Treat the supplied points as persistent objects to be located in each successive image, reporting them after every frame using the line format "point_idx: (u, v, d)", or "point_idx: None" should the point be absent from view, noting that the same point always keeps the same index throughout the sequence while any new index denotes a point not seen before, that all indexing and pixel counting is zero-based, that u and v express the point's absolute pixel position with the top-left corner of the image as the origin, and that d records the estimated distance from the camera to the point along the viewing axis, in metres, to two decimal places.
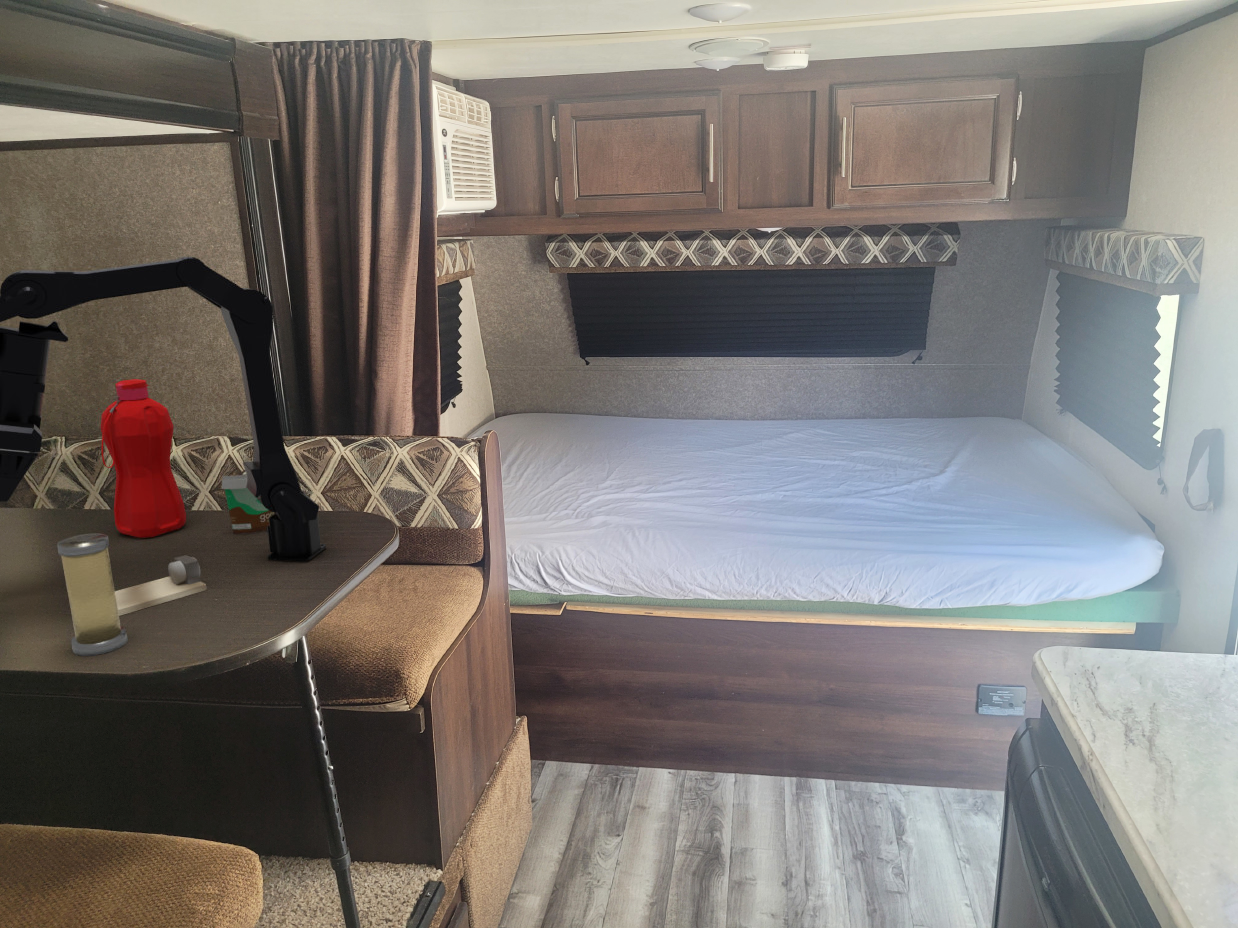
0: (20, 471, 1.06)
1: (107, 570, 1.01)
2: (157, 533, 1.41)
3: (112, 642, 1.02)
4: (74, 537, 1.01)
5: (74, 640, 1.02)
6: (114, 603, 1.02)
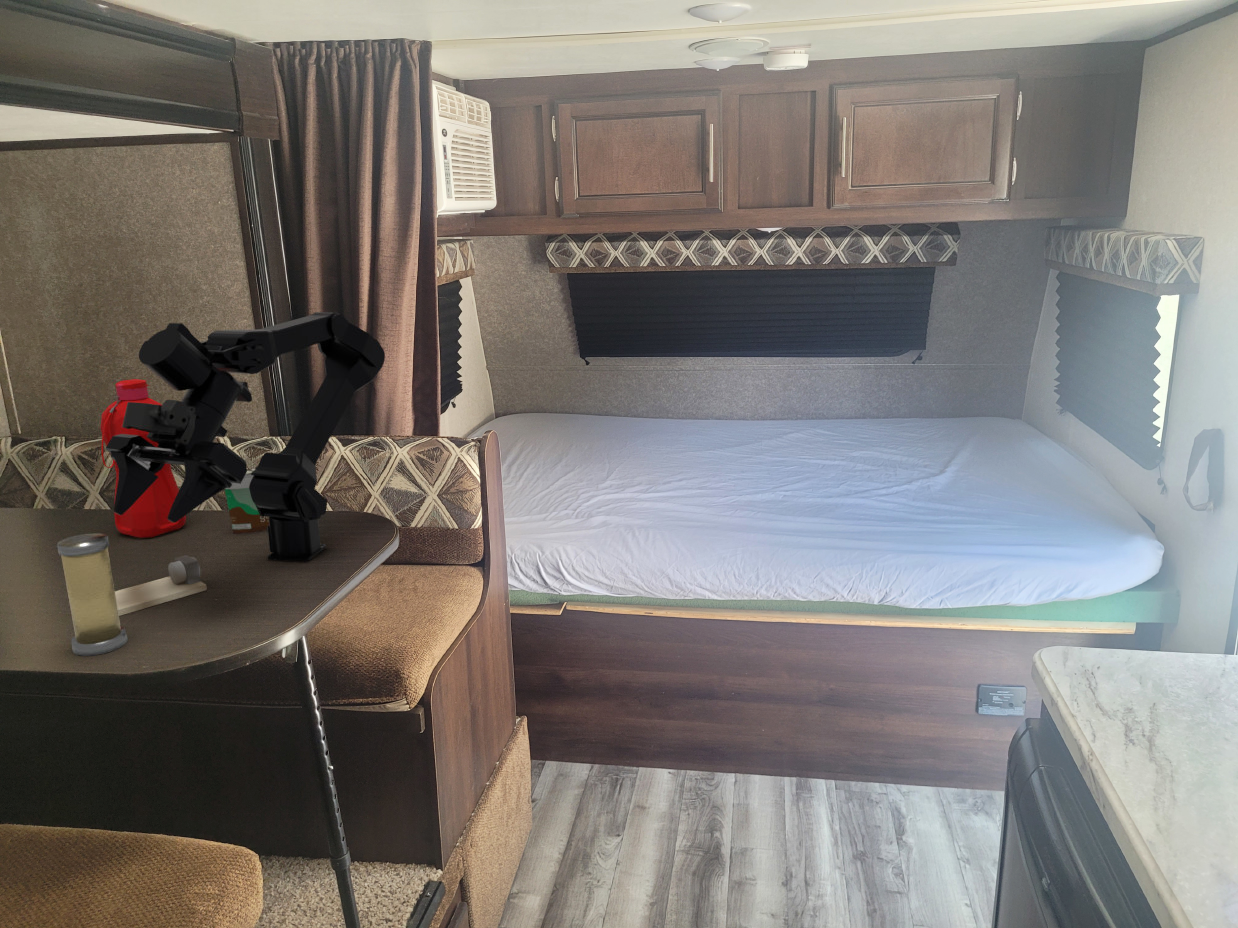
0: (204, 497, 1.08)
1: (107, 569, 1.01)
2: (157, 533, 1.41)
3: (112, 642, 1.02)
4: (74, 537, 1.01)
5: (74, 640, 1.02)
6: (114, 603, 1.02)
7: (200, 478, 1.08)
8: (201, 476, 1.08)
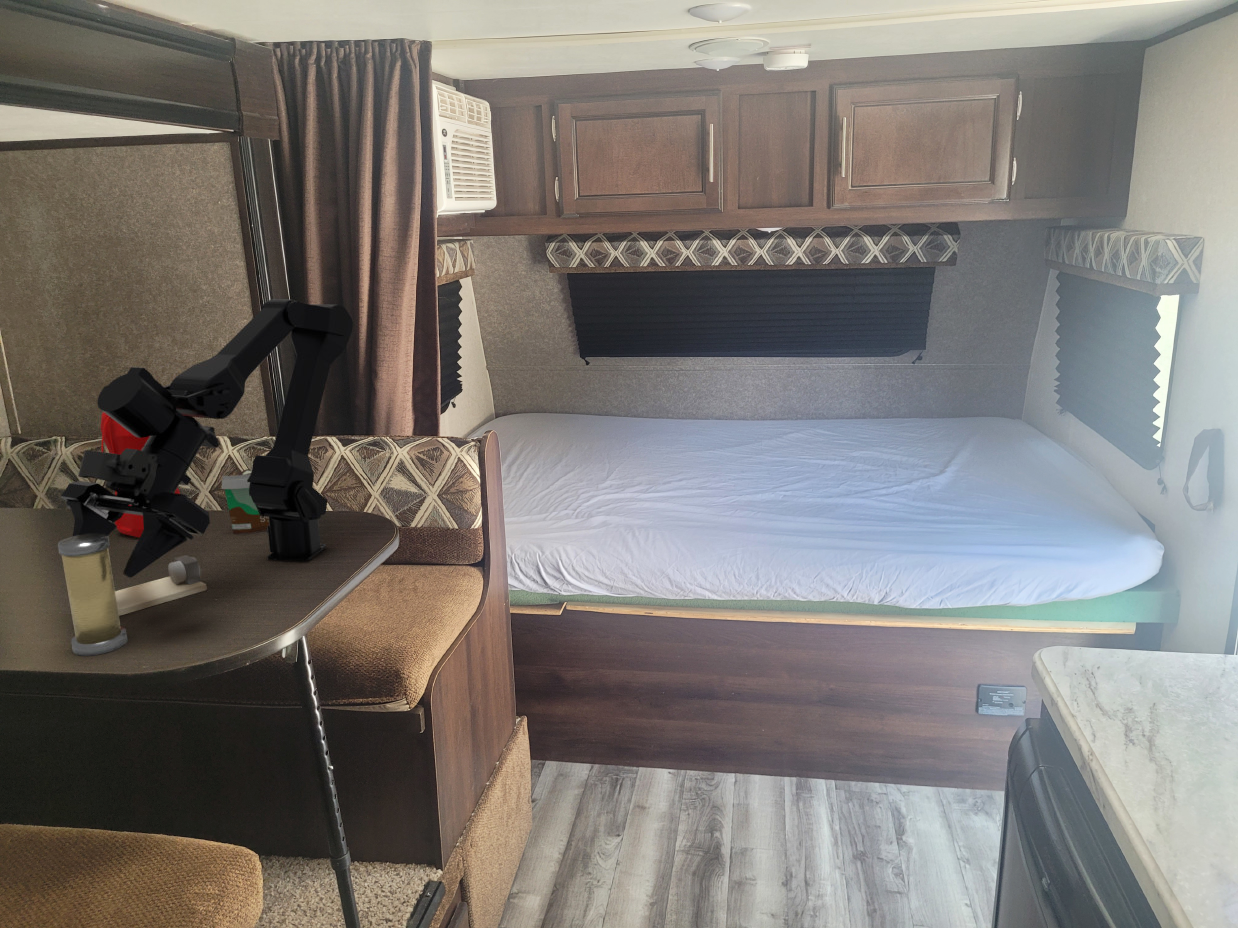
0: (163, 550, 1.03)
1: (107, 569, 1.01)
2: None
3: (112, 642, 1.02)
4: (74, 537, 1.01)
5: (74, 640, 1.02)
6: (114, 603, 1.02)
7: (159, 530, 1.03)
8: (161, 528, 1.03)
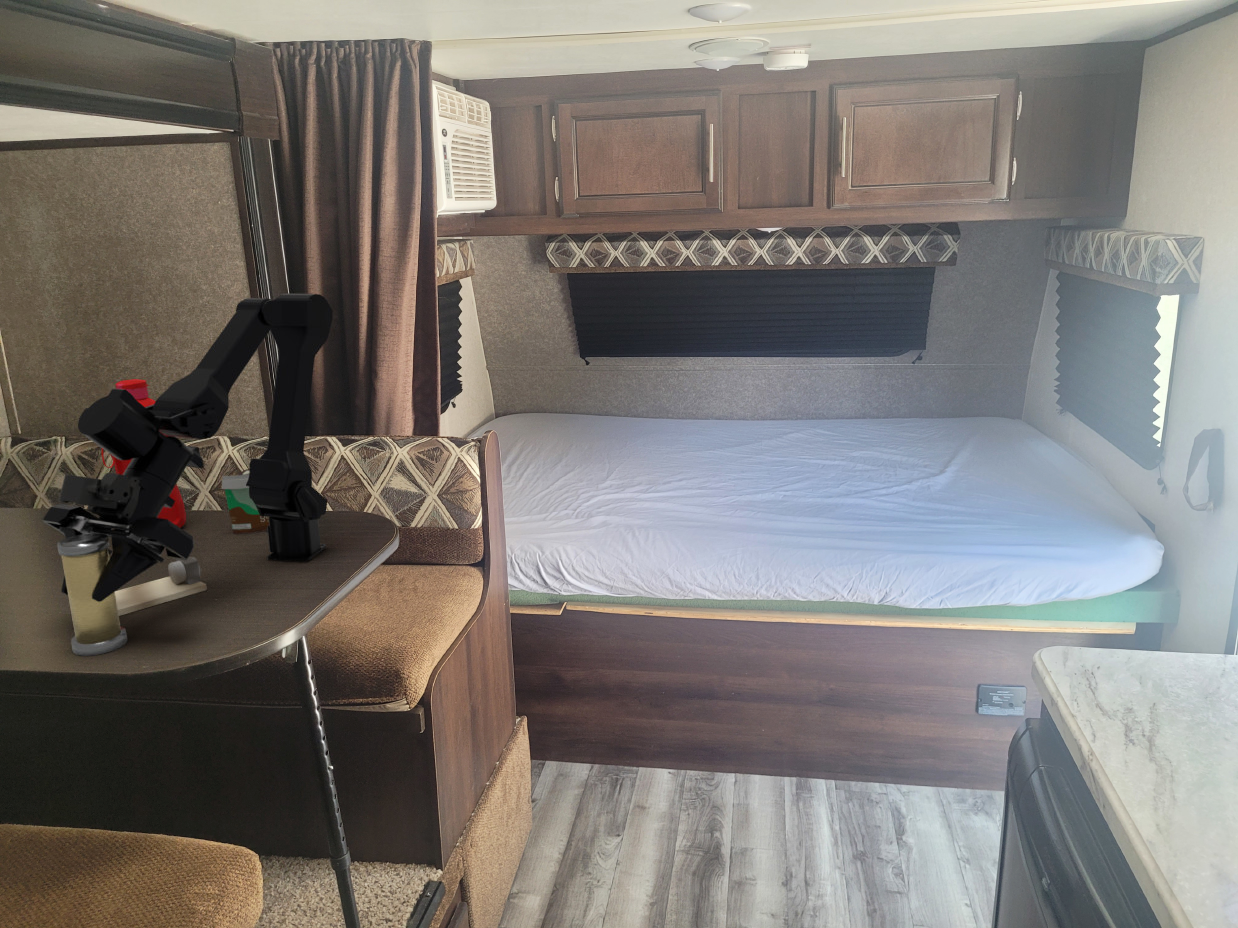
0: (133, 573, 1.02)
1: None
2: None
3: (112, 642, 1.02)
4: (74, 537, 1.01)
5: (74, 640, 1.02)
6: (114, 603, 1.02)
7: (129, 553, 1.02)
8: (130, 551, 1.02)
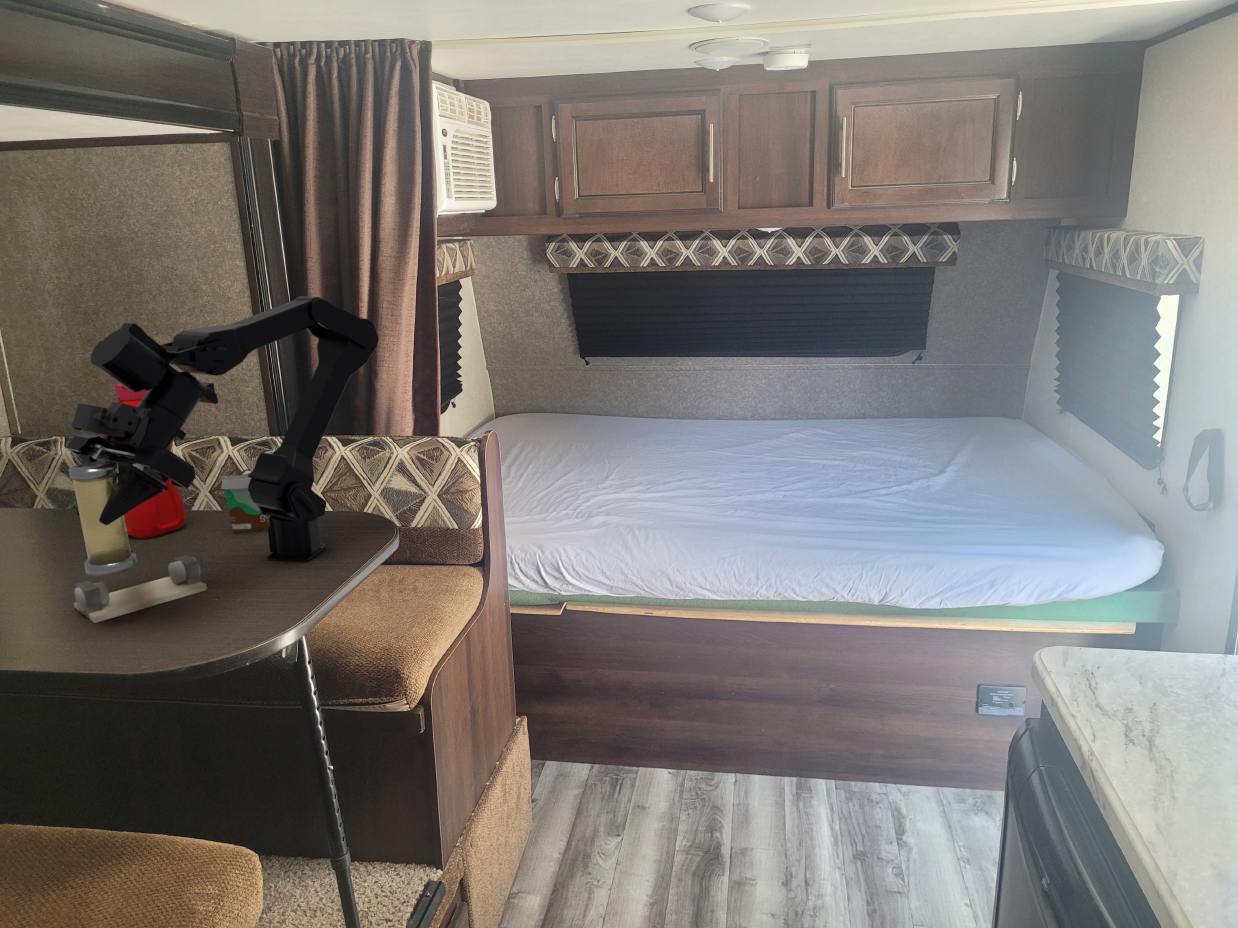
0: (139, 500, 1.07)
1: None
2: (157, 533, 1.41)
3: (119, 564, 1.07)
4: (87, 463, 1.07)
5: (87, 561, 1.08)
6: (122, 528, 1.07)
7: (135, 481, 1.06)
8: (136, 479, 1.06)
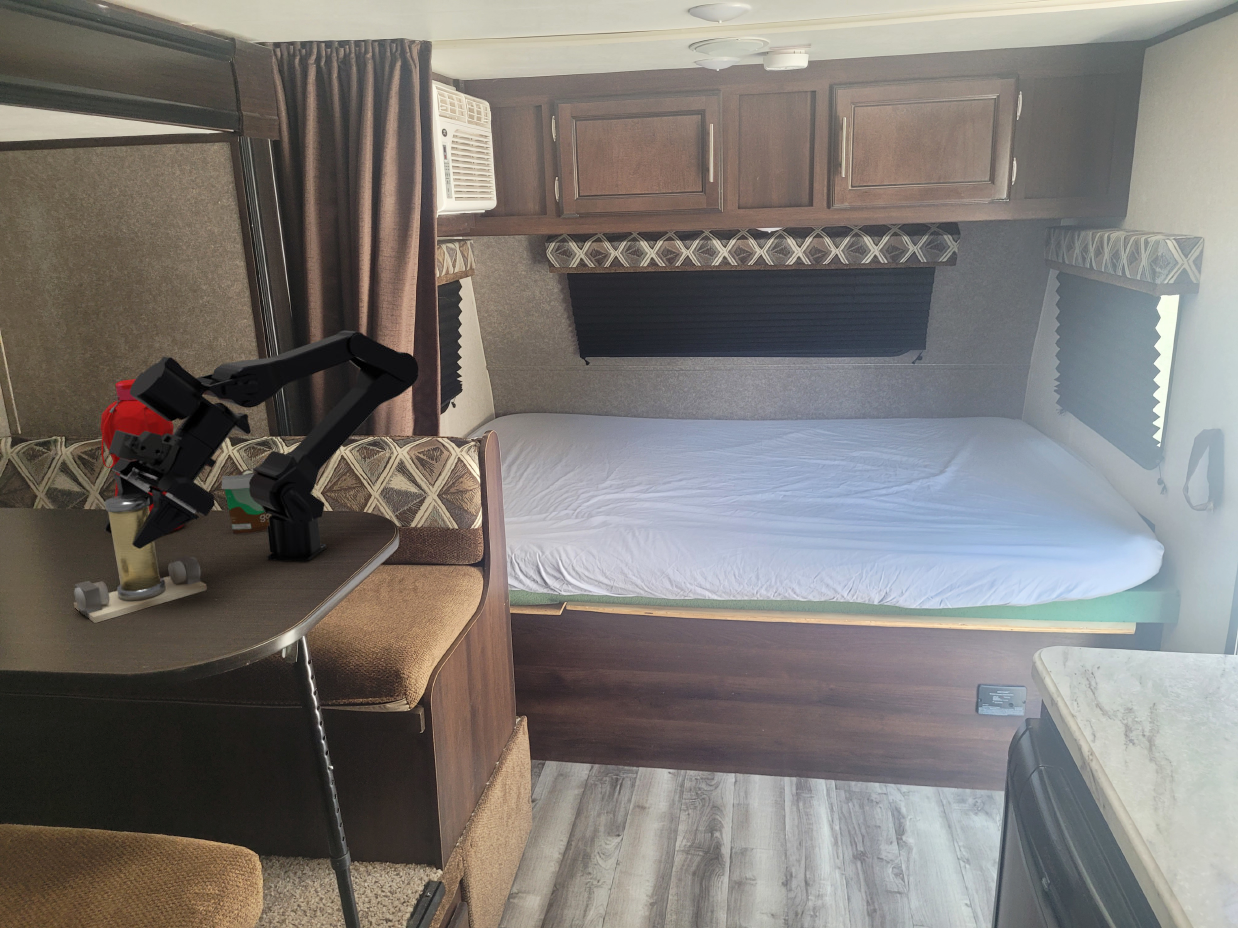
0: (170, 526, 1.12)
1: None
2: None
3: (146, 591, 1.14)
4: (124, 495, 1.15)
5: (120, 586, 1.16)
6: (151, 557, 1.15)
7: (168, 508, 1.12)
8: (170, 506, 1.12)
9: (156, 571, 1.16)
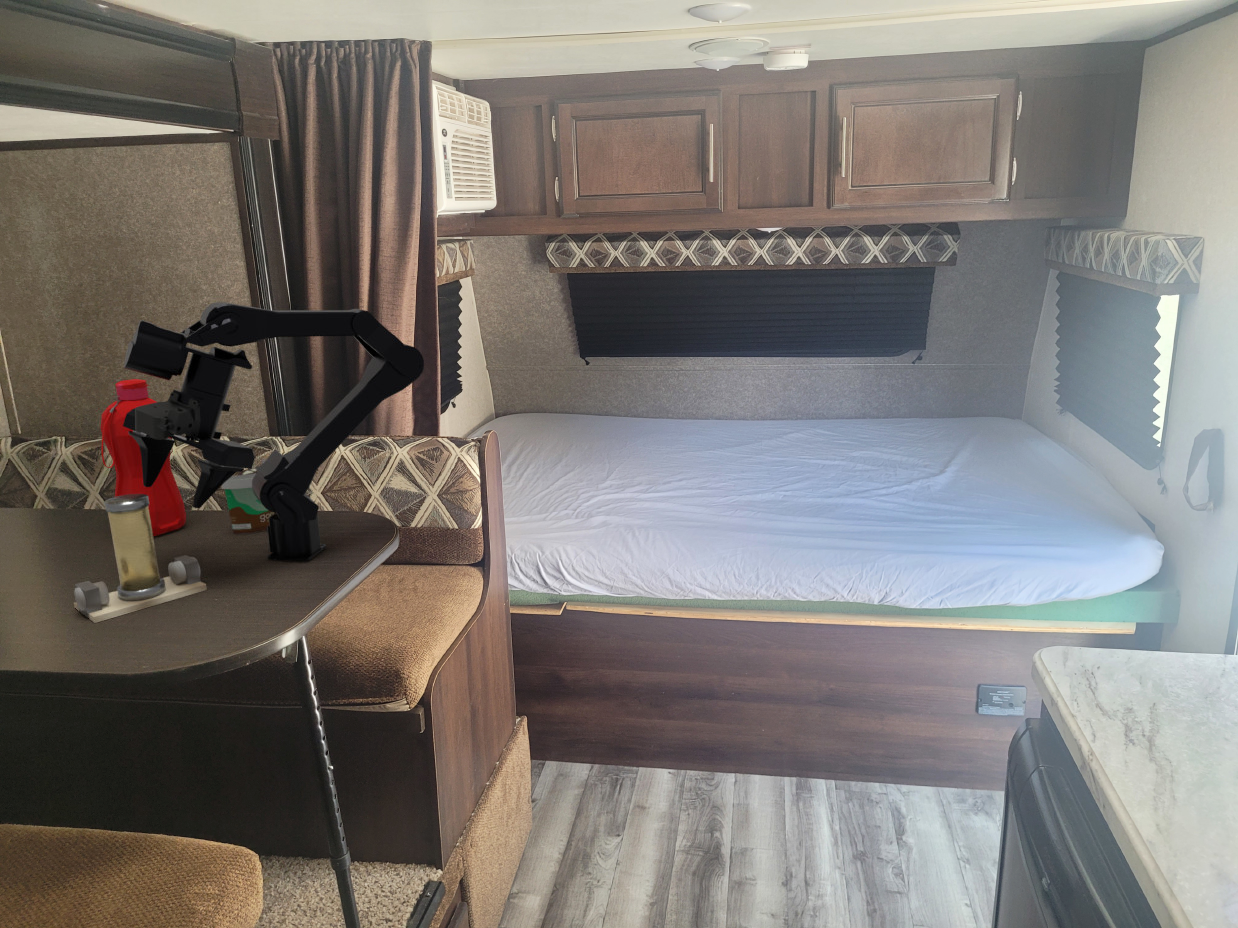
0: (221, 482, 1.21)
1: (144, 527, 1.13)
2: (157, 533, 1.41)
3: (146, 591, 1.14)
4: (124, 496, 1.15)
5: (120, 586, 1.16)
6: (151, 557, 1.15)
7: (214, 469, 1.20)
8: None
9: (156, 571, 1.16)
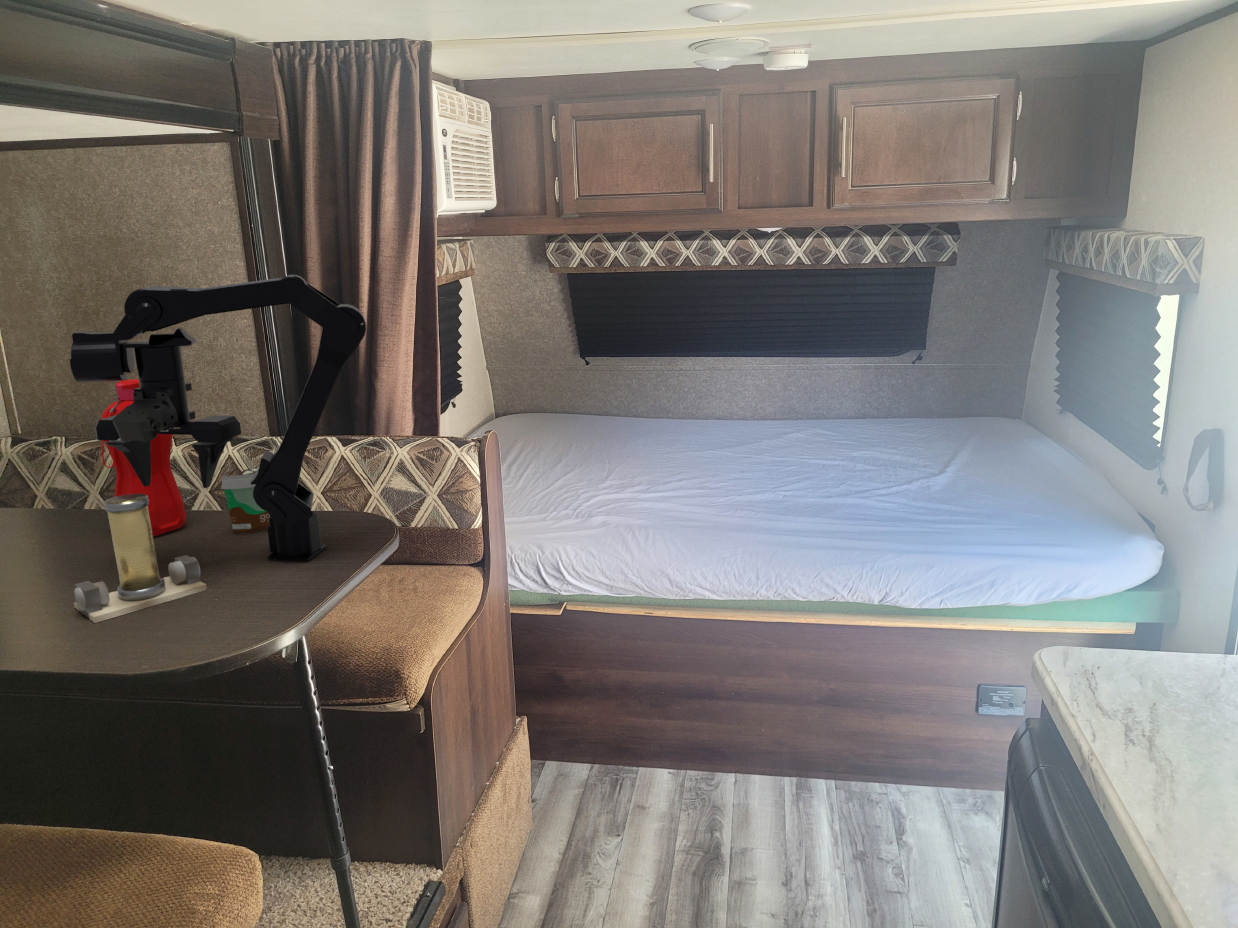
0: (218, 456, 1.26)
1: (144, 527, 1.14)
2: (157, 533, 1.41)
3: (146, 591, 1.14)
4: (123, 495, 1.15)
5: (120, 586, 1.16)
6: (151, 557, 1.15)
7: None
8: None
9: (156, 571, 1.16)
